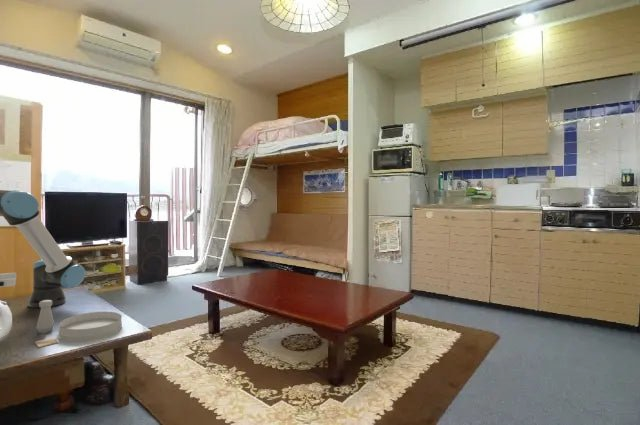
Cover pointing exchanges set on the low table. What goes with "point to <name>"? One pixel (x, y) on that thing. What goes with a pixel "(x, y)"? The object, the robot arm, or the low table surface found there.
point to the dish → (90, 326)
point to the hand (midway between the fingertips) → (16, 278)
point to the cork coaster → (46, 342)
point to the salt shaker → (45, 317)
